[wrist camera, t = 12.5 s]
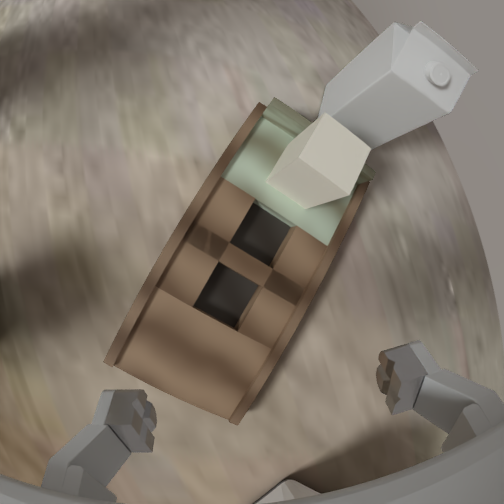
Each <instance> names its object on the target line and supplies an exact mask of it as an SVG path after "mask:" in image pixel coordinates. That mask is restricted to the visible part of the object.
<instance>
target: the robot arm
mask: <svg viewBox="0 0 504 504" xmlns="http://www.w3.org/2000/svg"><path fill="white" fill-rule="evenodd" d="M379 361H380V363H381V364H380V365H379V366H378V367H377V372H376V378H377V384H378V387H379V389H380V391H381V393H383V394H385V395H387V397H386V401H385V402H386V404H387V406H388V408H389V410H390V413H391V415H395V414H398V413H401V412H404V411H407V410H410V409H413V410H414V411H416V412H417V413H419V414H420V415H421V416H423V417H424V418H426V419H427V420H429V421H430V422H432V423H433V424H435V425H436V426H438V427H439V428H441V429H442V430H444V431H445V432H447V433H448V434H449V435H448V436H447V438H446V440H445V441H444V443H443V444H442V446H441V449H442V451H443V453H442V454H440V455H438V456H435V457H433V458H431V459H429V460H426V461H424V462H421V463H419V464H417V465H414V466H412V467H409V468H406V469H404V470H401V471H398V472H396V473H393V474H390V475H387V476H384V477H381V478H378V479H375V480H372V481H368V482H365V483H362V484H358V485H355V486H351V487H347V488H344V489H340V490H336V491H331V492H327V493H323V494H318V495H313V496H308V497H303V498H298V499H292V500H286V501H279V502H272V503H264V504H504V404H503V402H502V401H501V399H500V398H499V396H498V395H497V393H496V392H495V391H493V390H491V389H489V388H487V387H484V386H482V385H480V384H478V383H475V382H473V381H471V380H469V379H467V378H464V377H462V376H460V375H458V374H456V373H453V372H451V371H449V370H447V369H442V370H441V368H440V367H439V366H438V364H437V363H436V361H435V360H434V358H433V357H432V356H431V354H430V353H429V351H428V350H427V349H426V347H425V346H424V344H423V343H422V342H421V341H420V340H417V341H414V342H411V343H407V344H404V345H400V346H397V347H394V348H390V349H387V350H384V351H381V352H380V354H379ZM156 424H157V417H156V411H155V408H154V406H153V404H152V403H150V402H149V401H147V394H146V393H145V391H144V390H141V389H134V390H104V391H103V392H102V393H101V396H100V399H99V402H98V405H97V408H96V412H95V415H94V418H93V421H92V424H88V425H87V426H86V427H85V428H83V429H82V430H81V431H80V432H79V433H78V434H77V435H76V436H75V437H74V438H73V439H71V440H70V441H69V442H68V443H67V444H66V445H65V446H64V447H63V448H62V449H60V450H59V451H58V452H57V453H56V454H55V455H54V456H53V457H52V458H51V459H49V462H48V465H47V468H46V472H45V475H44V478H43V482H42V485H41V487H39V486H35V485H32V484H29V483H26V482H22V481H19V480H16V479H13V478H11V477H8V476H5V475H2V474H0V504H123V503H116V499H117V497H116V496H115V494H114V493H112V492H111V491H110V490H108V489H107V488H106V486H107V485H108V483H109V482H110V481H111V479H112V478H113V477H114V476H115V474H116V473H117V472H118V470H119V469H120V468H121V466H122V465H123V464H124V463H125V461H126V460H127V459H128V457H129V456H130V455H131V452H153V445H154V438H155V437H154V436H153V434H152V433H151V432H152V431H153V430H154V429H155V428H156Z"/></svg>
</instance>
